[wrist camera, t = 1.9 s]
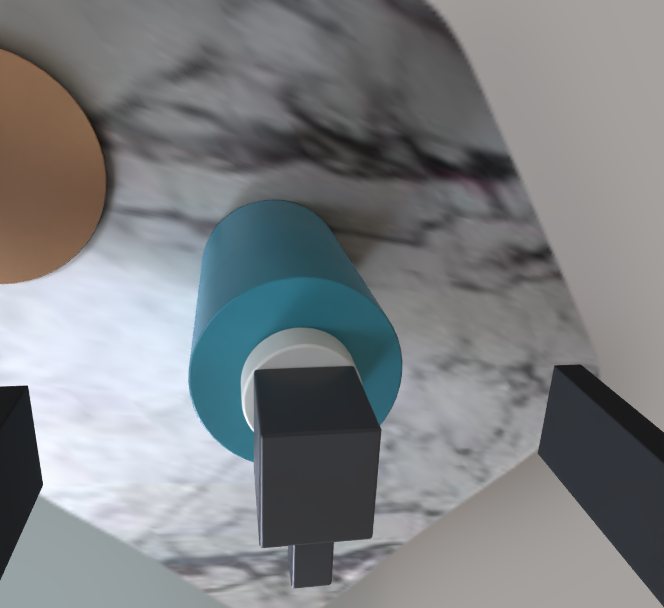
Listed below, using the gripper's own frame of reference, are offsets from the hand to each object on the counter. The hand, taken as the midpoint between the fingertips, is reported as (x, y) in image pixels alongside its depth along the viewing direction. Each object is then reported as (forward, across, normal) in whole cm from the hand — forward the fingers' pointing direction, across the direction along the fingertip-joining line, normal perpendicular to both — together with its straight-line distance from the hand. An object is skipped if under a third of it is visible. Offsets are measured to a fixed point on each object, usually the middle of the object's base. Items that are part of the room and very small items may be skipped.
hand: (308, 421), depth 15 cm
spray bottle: (+12, 0, 0) cm, 12 cm away
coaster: (+12, -11, +4) cm, 17 cm away
